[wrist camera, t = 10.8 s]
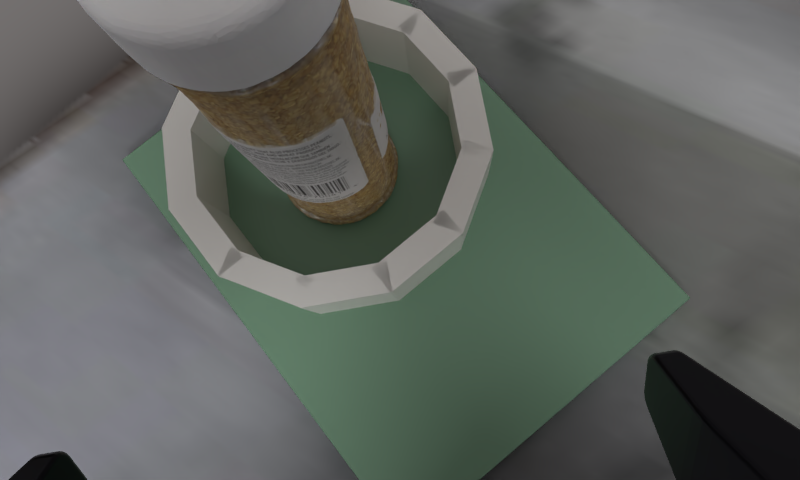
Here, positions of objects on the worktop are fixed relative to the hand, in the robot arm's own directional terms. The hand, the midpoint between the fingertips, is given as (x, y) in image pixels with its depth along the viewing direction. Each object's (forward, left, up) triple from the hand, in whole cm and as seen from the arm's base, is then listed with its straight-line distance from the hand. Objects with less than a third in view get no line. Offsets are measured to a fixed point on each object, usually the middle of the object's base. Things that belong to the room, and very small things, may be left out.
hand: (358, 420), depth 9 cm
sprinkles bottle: (+8, -3, -12) cm, 15 cm away
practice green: (+5, -3, -12) cm, 14 cm away
